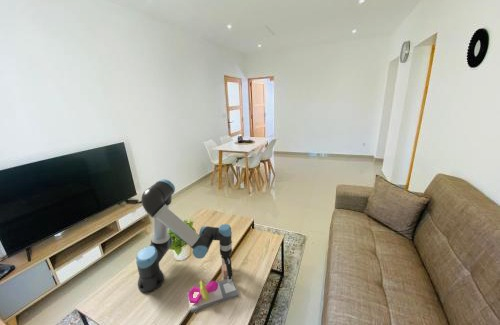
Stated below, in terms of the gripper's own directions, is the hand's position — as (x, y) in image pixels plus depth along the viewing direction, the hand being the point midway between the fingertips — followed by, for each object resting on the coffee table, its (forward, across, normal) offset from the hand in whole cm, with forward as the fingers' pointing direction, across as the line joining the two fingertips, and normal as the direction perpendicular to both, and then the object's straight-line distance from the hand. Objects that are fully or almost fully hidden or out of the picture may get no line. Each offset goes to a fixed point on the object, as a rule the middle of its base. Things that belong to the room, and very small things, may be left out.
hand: (226, 273), depth 140 cm
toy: (0, -11, +17) cm, 20 cm away
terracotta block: (+2, 0, 0) cm, 2 cm away
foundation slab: (+2, -10, +11) cm, 15 cm away
